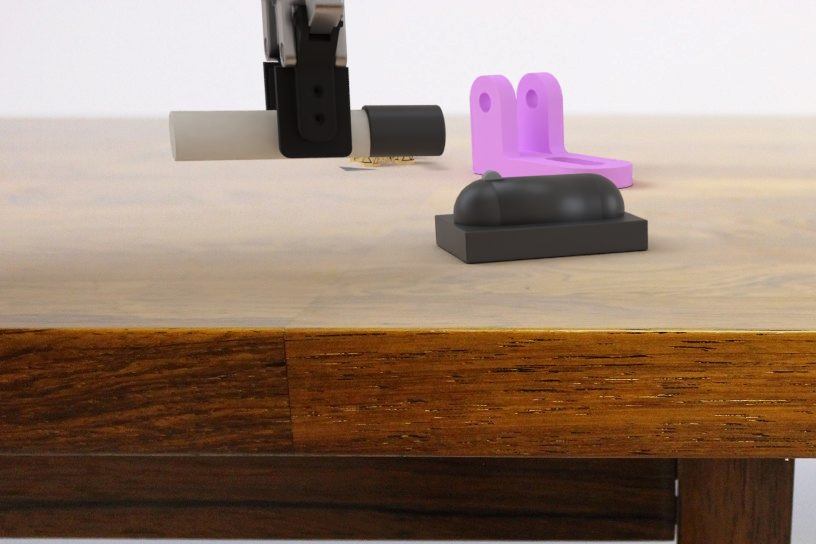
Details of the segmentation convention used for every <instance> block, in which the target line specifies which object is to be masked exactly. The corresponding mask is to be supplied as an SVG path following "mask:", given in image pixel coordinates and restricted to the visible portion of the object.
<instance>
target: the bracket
mask: <svg viewBox="0 0 816 544" xmlns="http://www.w3.org/2000/svg"><path fill="white" fill-rule="evenodd" d="M469 115H470V116H469V118H470V120H469V121H470V137H471V138H470V139H471V140H470V141H471V159H472V160H471V161H472V173H473V174H478V175H483V174H484V173H485V172H486V171H488V170H493V171H496V172H498V173H499V174H500V175H501V176H502V177H520V176H539V175H558V174H577V173H594V174H599V175H602V176H604V177H606V178H608V179H609V180H611V181H612V182H613V183H614V184H615V185H616V186H617V188H618V189H623V188H628V187H630V186H632V185H633V162H631V161H628V160H622V159H616V158H609V157H600V156H597V155H596V156H595V155H588V154H581V153H574V152H568V151H567V150H566V147H565V125H564V124H565V123H564V96H563V90H562V87H561V85H560V83H559V80H558V79H557V77H555V76H554V74H552V73H550V72H548V71H542V72H541V71H540V72H527V73H525V74H523V76H522V77H521V78H520V79H519V81H518V84H517V87H516V91H515V88H514V86H513V84H512V82H511V81H510V80H509V78H507V76H505V75H503V74H488V75H487V74H485V75H479V76H478V77H476V78H475V79H474V81H473V82H472V84H471V86H470V91H469Z"/></svg>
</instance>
